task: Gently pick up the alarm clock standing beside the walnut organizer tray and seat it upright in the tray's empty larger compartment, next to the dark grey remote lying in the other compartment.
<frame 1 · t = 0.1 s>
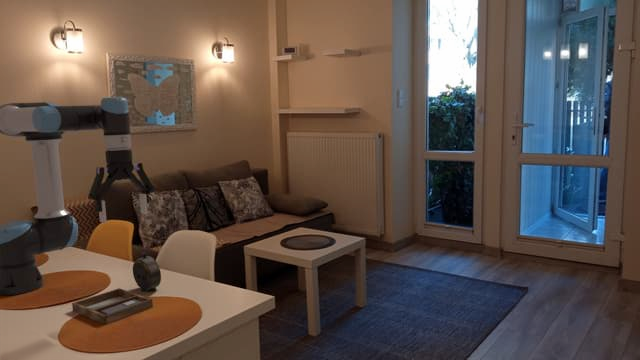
hand: (124, 218, 159), 28 cm above the table, fingers open, 13 cm apart
alarm clock: (147, 292, 174), on the table
remote: (122, 312, 154), point 1 cm above the table, touching organizer tray
organizer tray: (113, 311, 158), on the table
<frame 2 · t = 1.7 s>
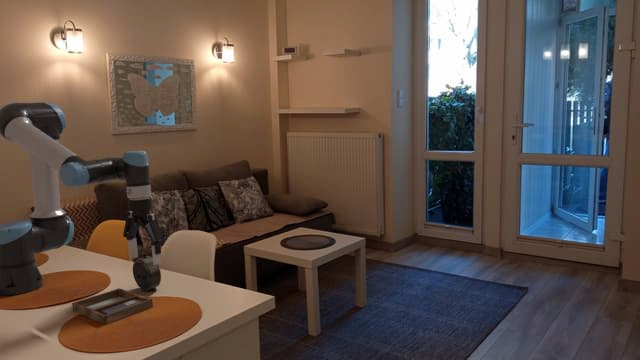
hand: (145, 260, 172), 11 cm above the table, fingers open, 13 cm apart
nothing on the table moved.
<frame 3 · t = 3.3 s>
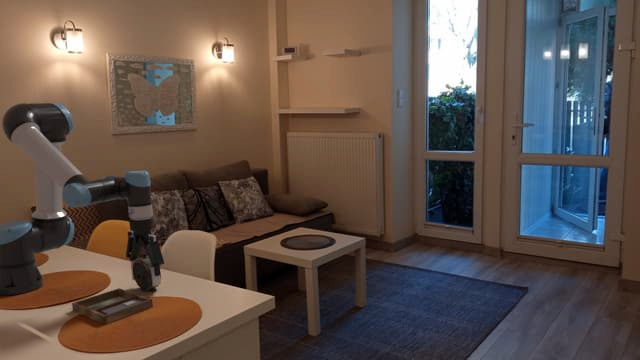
hand: (146, 281, 173), 4 cm above the table, fingers closed on alarm clock, 11 cm apart
alarm clock: (147, 292, 174), on the table, touching gripper
everything else where it was.
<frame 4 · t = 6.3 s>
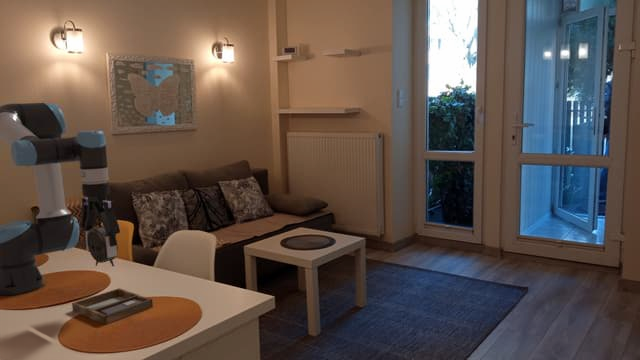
hand: (102, 253, 157), 18 cm above the table, fingers closed on alarm clock, 11 cm apart
alarm clock: (103, 265, 158), point 14 cm above the table, touching gripper
everything else where it was.
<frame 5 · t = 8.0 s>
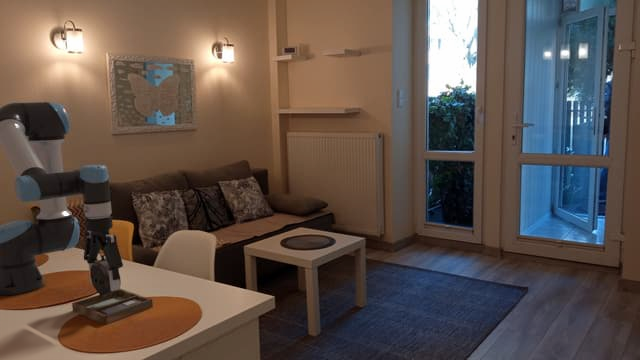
hand: (105, 286, 159), 7 cm above the table, fingers closed on alarm clock, 11 cm apart
alarm clock: (106, 298, 159), point 4 cm above the table, touching gripper
everything else where it was.
when the fingers open (6 cm above the table, at t = 9.4 s): alarm clock drops 1 cm, resting on organizer tray.
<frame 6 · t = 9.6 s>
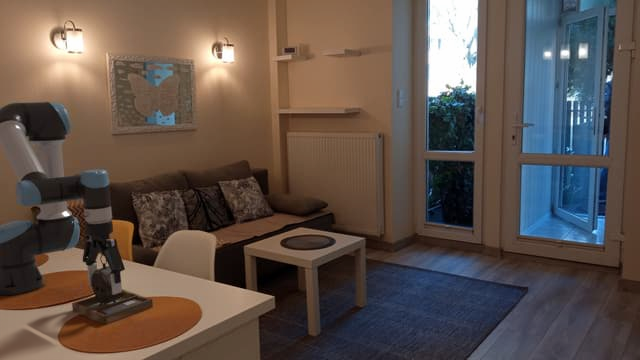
hand: (105, 289, 159), 6 cm above the table, fingers open, 13 cm apart
alarm clock: (106, 306, 160), point 1 cm above the table, touching organizer tray
everything else where it was.
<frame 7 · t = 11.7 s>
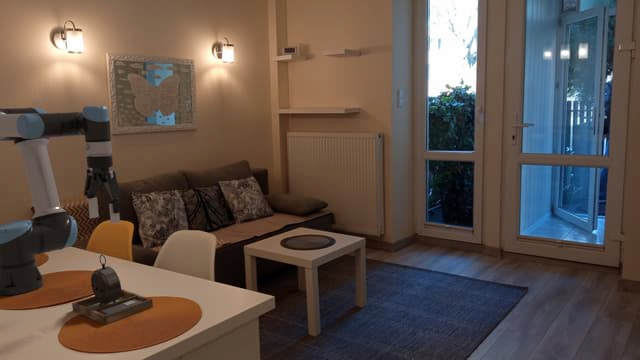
hand: (104, 220, 167), 26 cm above the table, fingers open, 13 cm apart
nothing on the table moved.
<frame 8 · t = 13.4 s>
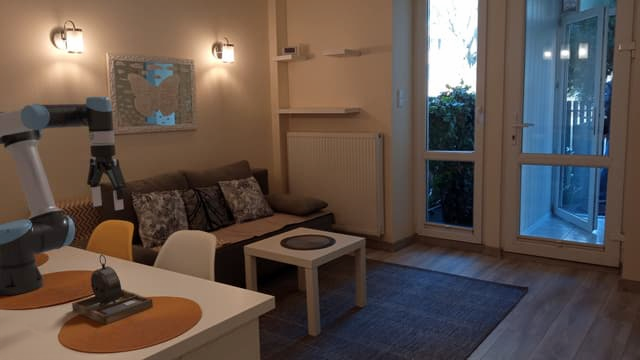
hand: (108, 207, 173), 29 cm above the table, fingers open, 13 cm apart
nothing on the table moved.
at the end: alarm clock inside the target area on the organizer tray (0.0 cm from its centre), point 0.8 cm above the organizer tray's base; alarm clock tilted 0°; the gripper is holding nothing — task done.
